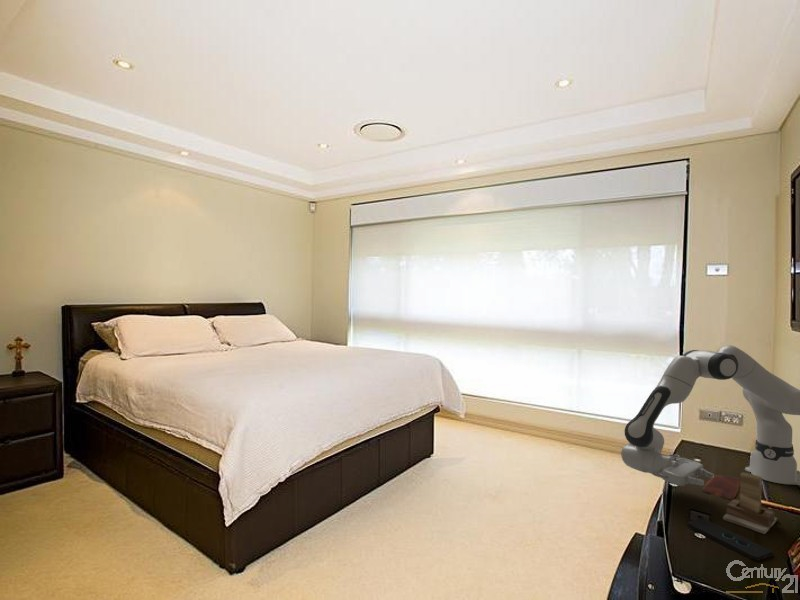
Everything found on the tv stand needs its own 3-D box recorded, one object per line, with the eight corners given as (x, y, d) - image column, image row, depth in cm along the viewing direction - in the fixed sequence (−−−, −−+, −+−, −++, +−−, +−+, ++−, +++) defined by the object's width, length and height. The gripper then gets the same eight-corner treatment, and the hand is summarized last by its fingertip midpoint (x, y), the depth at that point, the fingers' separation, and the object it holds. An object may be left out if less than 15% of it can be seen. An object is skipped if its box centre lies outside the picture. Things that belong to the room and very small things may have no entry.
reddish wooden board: (733, 502, 159) (733, 498, 159) (700, 493, 166) (701, 489, 166) (744, 480, 178) (744, 476, 178) (714, 473, 185) (714, 469, 185)
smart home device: (756, 557, 123) (686, 522, 141) (755, 563, 123) (686, 527, 141) (773, 551, 126) (703, 517, 144) (773, 556, 126) (703, 522, 144)
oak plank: (742, 512, 148) (743, 471, 148) (760, 518, 144) (761, 477, 144) (739, 515, 147) (740, 474, 146) (758, 521, 143) (759, 479, 142)
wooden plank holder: (736, 507, 154) (737, 496, 154) (776, 520, 145) (777, 508, 145) (723, 519, 146) (723, 507, 146) (764, 534, 137) (765, 521, 137)
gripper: (654, 465, 160) (697, 478, 149) (677, 453, 172) (718, 464, 161) (653, 482, 160) (697, 496, 149) (676, 469, 172) (718, 481, 161)
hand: (708, 479), depth 155 cm, fingers open, 8 cm apart
